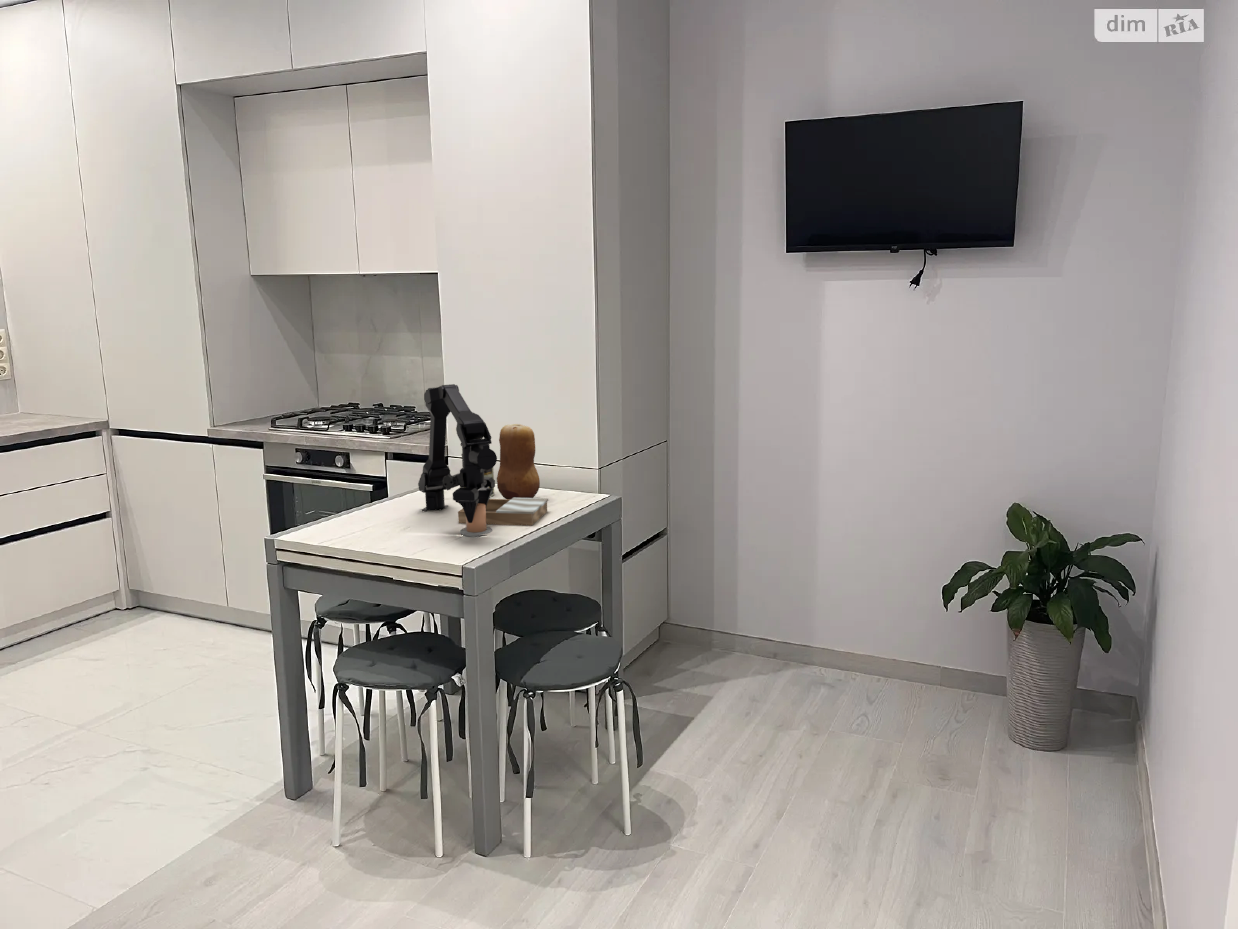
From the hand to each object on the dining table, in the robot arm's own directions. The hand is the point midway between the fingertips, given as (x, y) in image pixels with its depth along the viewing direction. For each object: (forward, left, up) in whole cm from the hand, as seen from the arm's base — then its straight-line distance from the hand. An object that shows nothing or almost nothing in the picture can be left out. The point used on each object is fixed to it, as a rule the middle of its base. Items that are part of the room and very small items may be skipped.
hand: (475, 518), depth 265 cm
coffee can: (-46, -15, -4) cm, 49 cm away
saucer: (0, 0, -4) cm, 4 cm away
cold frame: (-16, +3, -4) cm, 17 cm away
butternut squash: (-38, +1, -4) cm, 38 cm away
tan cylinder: (0, 0, -3) cm, 3 cm away
